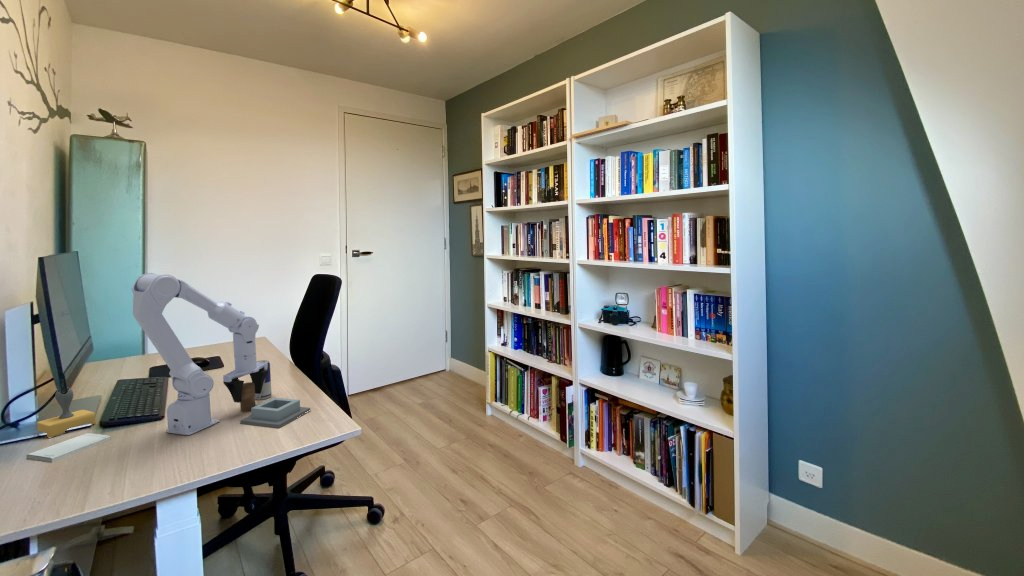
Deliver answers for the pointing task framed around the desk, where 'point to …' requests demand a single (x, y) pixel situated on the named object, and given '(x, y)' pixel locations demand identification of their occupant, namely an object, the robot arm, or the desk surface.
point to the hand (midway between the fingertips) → (247, 397)
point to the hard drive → (68, 447)
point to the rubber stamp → (65, 417)
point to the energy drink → (265, 384)
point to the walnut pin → (248, 397)
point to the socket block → (275, 413)
